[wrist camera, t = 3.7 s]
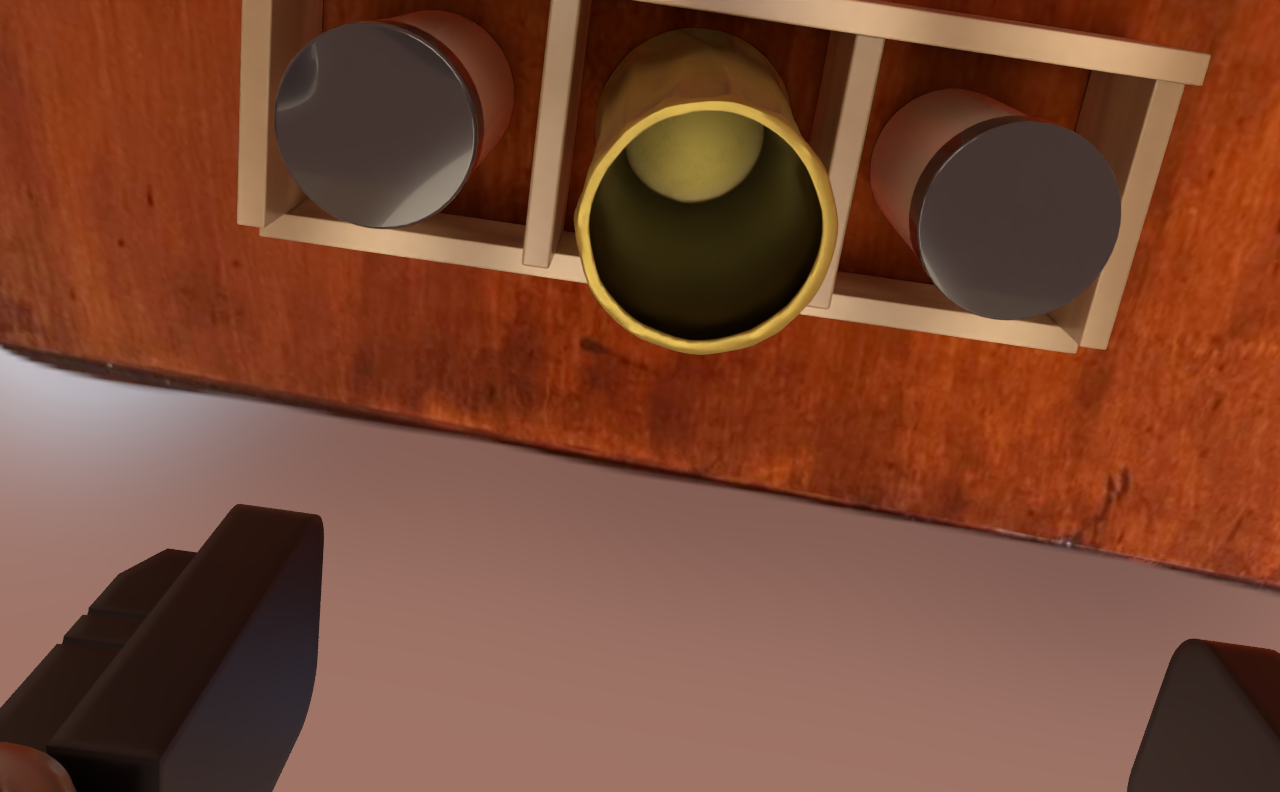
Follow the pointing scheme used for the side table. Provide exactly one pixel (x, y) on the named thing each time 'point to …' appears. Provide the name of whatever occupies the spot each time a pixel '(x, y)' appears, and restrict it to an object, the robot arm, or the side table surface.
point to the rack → (859, 22)
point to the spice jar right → (996, 202)
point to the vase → (702, 197)
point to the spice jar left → (392, 115)
